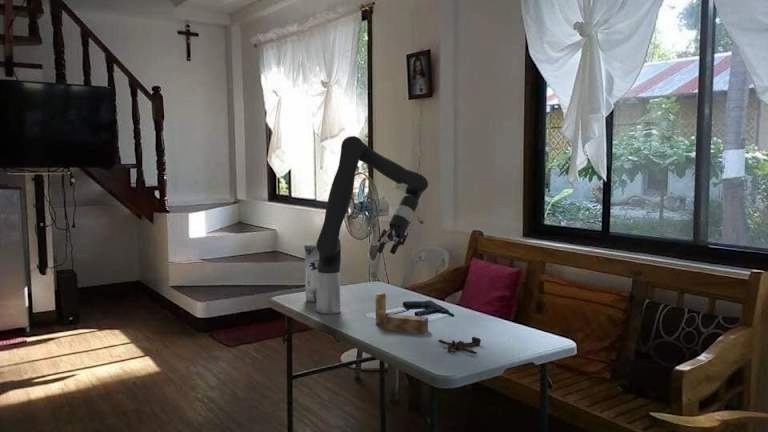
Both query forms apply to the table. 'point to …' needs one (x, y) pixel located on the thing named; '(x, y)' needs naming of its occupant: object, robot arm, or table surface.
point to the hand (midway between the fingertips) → (385, 252)
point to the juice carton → (311, 271)
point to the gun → (426, 307)
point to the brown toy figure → (461, 345)
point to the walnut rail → (406, 323)
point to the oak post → (380, 308)
